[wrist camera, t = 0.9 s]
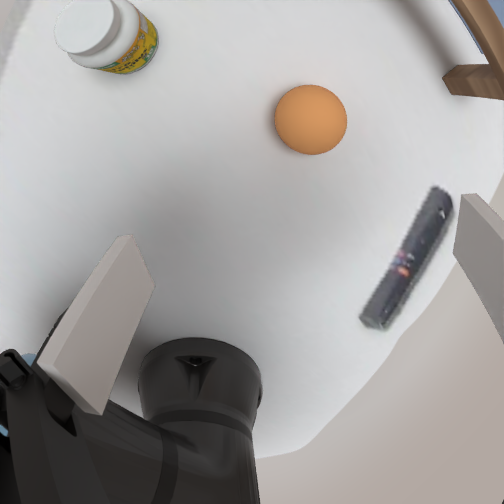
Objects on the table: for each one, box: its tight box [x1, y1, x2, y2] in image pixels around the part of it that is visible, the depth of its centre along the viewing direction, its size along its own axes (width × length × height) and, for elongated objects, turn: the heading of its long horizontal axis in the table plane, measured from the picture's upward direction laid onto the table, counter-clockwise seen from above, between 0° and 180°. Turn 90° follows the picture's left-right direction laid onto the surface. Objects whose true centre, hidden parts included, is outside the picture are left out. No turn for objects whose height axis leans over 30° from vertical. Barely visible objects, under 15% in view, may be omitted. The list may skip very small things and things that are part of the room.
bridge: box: [442, 0, 504, 100], centre depth 17 cm, size 3×14×9 cm, turn 42°
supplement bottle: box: [54, 0, 158, 74], centre depth 17 cm, size 5×5×10 cm
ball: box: [275, 85, 347, 155], centre depth 23 cm, size 6×6×6 cm
